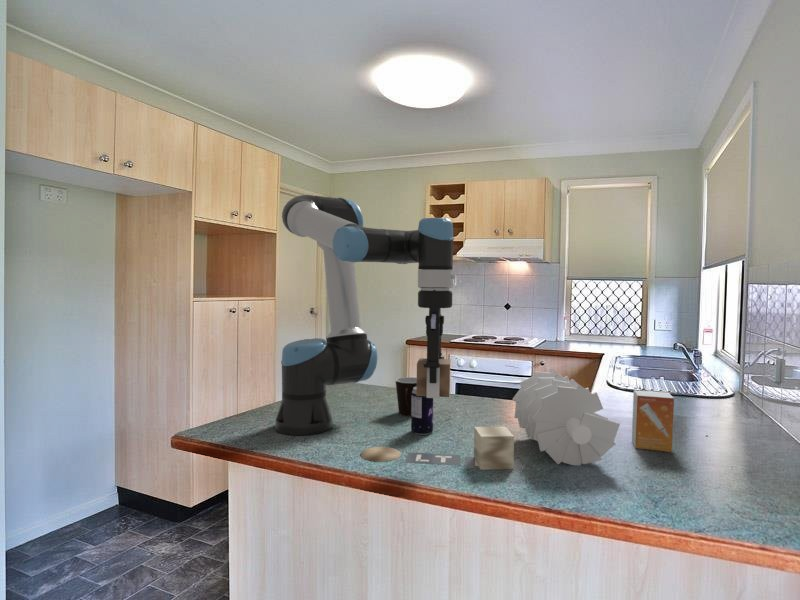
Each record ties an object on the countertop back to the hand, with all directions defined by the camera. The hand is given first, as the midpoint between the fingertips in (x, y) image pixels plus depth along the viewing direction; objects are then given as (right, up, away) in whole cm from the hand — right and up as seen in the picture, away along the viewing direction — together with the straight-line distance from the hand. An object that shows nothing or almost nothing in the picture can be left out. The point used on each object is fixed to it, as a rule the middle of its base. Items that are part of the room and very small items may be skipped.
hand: (433, 393), depth 111 cm
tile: (0, -15, +1) cm, 15 cm away
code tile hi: (+13, -15, -2) cm, 20 cm away
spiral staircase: (+30, -15, +7) cm, 34 cm away
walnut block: (0, 0, 0) cm, 0 cm away
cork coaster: (-12, -15, +3) cm, 19 cm away
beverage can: (-2, -14, +20) cm, 25 cm away
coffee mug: (-6, -14, +38) cm, 41 cm away
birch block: (+13, -15, -2) cm, 20 cm away
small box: (+54, -15, +11) cm, 57 cm away
